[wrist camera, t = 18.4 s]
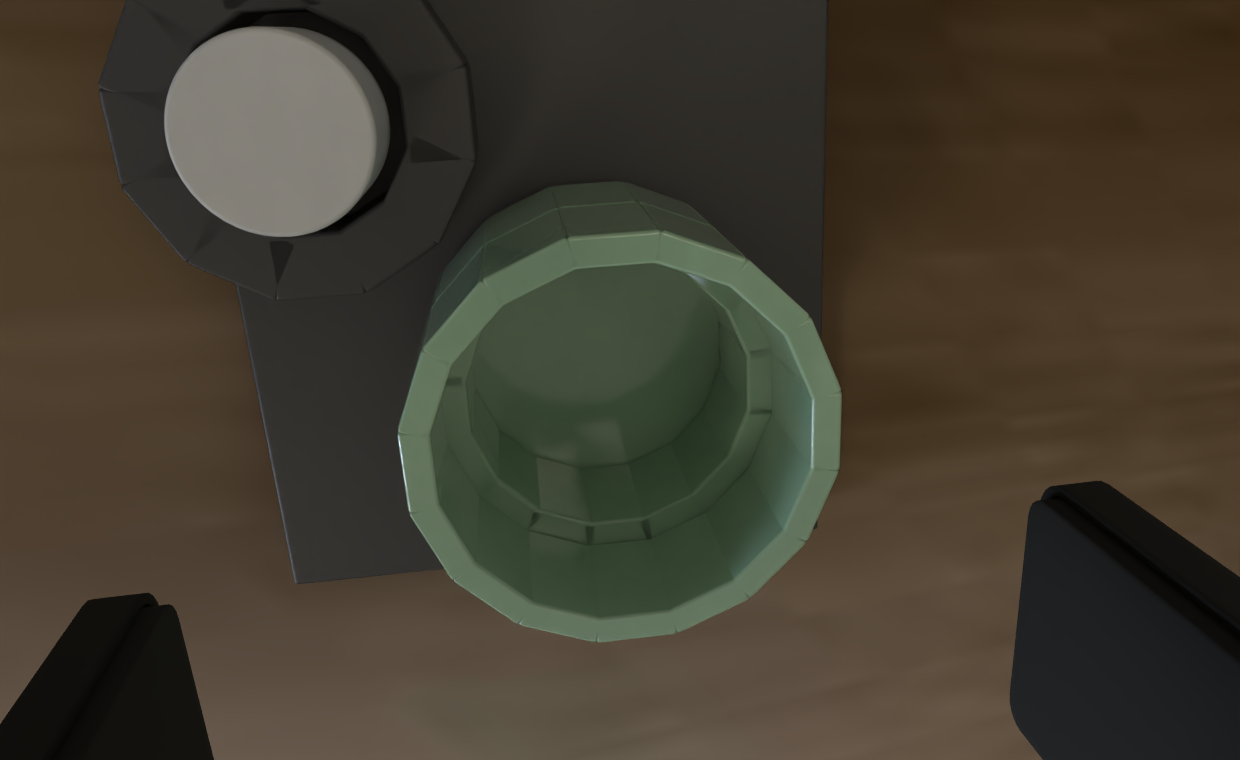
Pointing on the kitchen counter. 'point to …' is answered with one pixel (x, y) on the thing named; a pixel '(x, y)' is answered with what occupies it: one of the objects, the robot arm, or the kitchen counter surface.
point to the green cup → (615, 417)
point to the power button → (276, 129)
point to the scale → (470, 196)
